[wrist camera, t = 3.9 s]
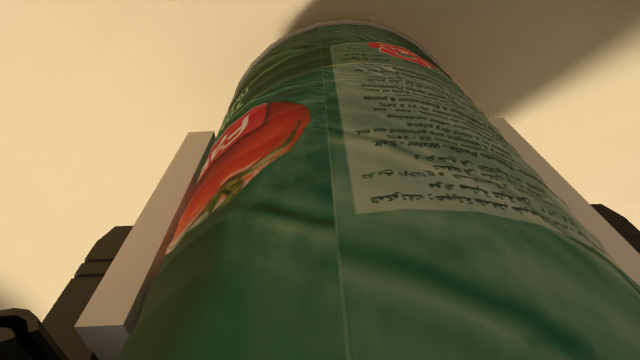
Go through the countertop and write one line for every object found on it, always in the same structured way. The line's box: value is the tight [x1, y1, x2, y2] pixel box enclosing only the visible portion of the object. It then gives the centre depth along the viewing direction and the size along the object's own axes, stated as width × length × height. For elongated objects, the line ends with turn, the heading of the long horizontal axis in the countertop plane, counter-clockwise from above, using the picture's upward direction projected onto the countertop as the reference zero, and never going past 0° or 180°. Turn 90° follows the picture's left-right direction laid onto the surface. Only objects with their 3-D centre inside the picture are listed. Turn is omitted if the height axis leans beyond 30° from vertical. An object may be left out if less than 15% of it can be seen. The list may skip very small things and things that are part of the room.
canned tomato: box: [119, 19, 640, 360], centre depth 9 cm, size 8×8×11 cm
